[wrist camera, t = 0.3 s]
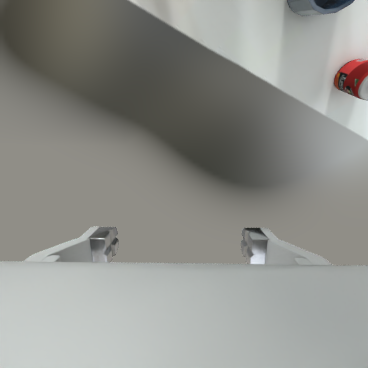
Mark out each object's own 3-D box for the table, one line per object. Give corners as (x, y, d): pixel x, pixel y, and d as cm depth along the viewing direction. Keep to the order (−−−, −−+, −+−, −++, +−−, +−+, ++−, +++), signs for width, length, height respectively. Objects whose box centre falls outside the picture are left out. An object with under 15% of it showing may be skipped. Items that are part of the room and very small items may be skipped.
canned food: (329, 74, 52) (356, 83, 43) (362, 50, 48) (399, 55, 40) (336, 95, 55) (363, 107, 47) (368, 75, 52) (402, 84, 43)
